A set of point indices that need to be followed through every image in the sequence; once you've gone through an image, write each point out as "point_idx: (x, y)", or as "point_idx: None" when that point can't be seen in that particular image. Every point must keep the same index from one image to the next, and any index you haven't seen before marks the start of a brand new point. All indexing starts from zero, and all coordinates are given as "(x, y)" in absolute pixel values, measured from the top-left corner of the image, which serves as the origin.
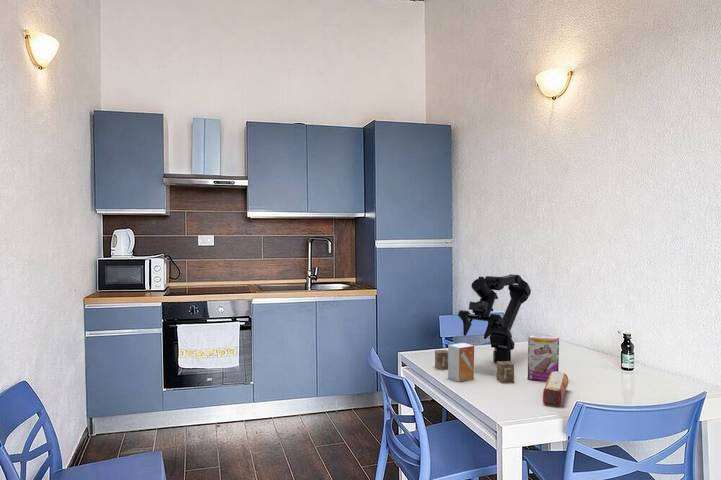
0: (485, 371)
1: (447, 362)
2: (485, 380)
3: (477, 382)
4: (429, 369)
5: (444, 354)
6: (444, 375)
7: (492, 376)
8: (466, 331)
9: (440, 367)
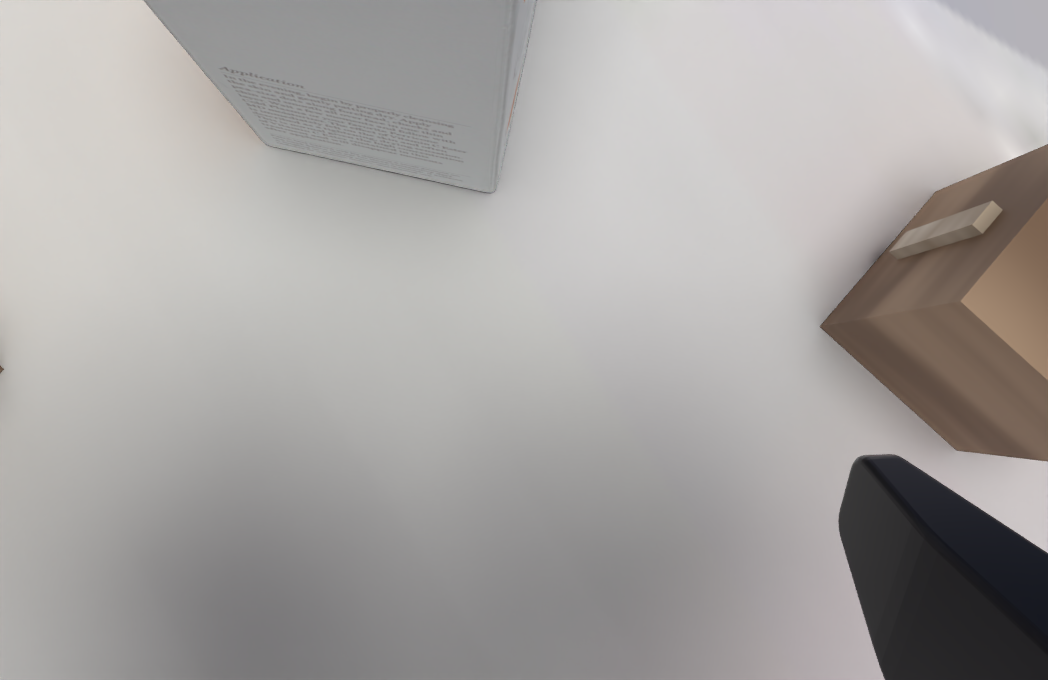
0: (370, 639)
1: (890, 293)
2: (100, 202)
3: (132, 34)
4: (1024, 127)
5: (1005, 231)
6: (678, 13)
7: (137, 466)
8: (926, 656)
9: (923, 220)
